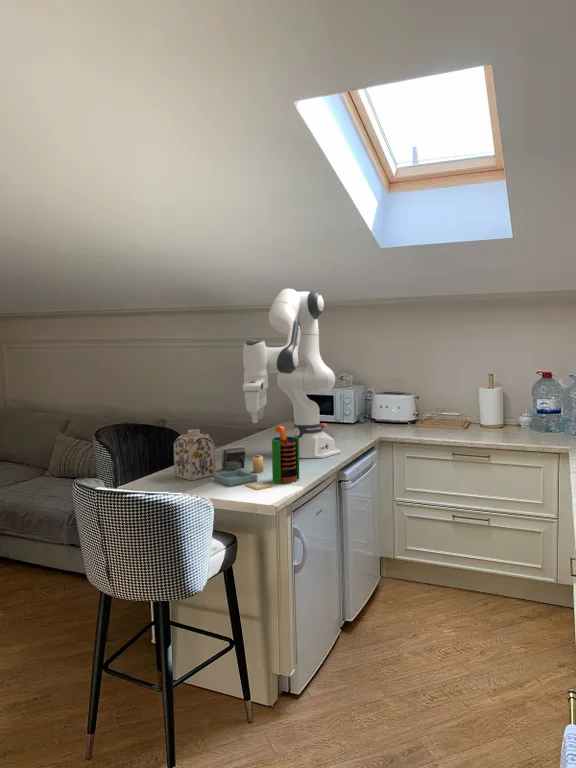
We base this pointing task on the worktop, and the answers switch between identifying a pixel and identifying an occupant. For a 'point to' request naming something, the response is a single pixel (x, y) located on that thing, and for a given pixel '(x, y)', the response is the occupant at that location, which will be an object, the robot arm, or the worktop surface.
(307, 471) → the worktop surface
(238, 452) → the electrical switch
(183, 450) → the decorative jar
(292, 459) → the motor
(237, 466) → the grey block
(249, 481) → the tray
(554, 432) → the worktop surface
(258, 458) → the orange part
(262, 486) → the tag
